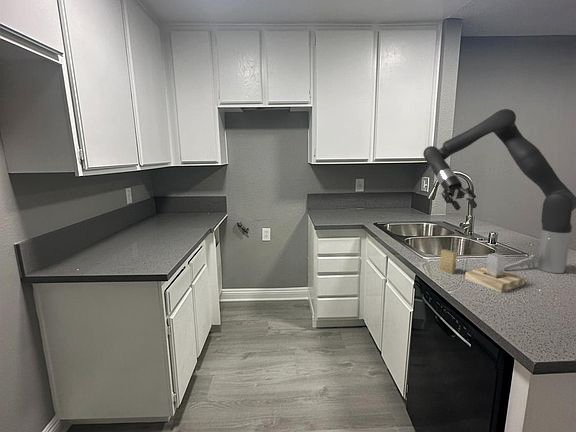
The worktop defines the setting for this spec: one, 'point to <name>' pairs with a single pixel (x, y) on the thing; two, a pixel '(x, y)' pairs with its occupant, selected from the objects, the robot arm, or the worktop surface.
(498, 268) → the square bit
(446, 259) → the light brown wooden block
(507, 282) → the socket block
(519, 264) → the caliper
